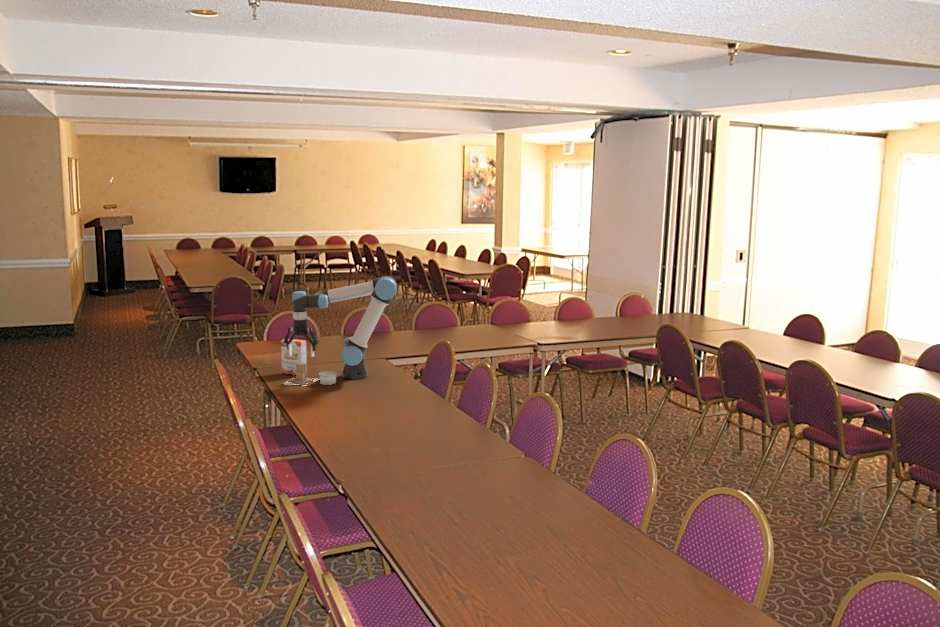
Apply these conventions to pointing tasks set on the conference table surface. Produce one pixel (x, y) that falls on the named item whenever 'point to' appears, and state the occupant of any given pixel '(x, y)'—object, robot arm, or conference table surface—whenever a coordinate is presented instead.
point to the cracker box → (293, 355)
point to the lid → (301, 374)
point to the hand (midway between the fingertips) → (301, 356)
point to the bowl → (327, 377)
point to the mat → (298, 384)
